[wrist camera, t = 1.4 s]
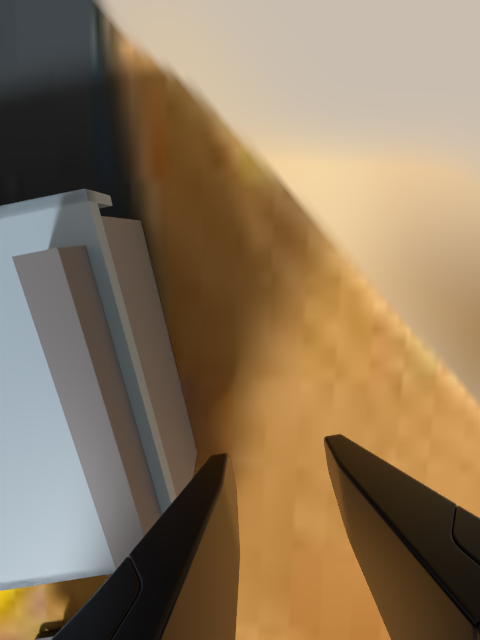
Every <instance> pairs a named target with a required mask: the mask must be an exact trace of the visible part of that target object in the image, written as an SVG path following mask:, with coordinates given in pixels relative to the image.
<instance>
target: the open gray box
mask: <svg viewBox="0 0 480 640" xmlns="http://www.w3.org/2000/svg"><path fill="white" fill-rule="evenodd" d="M101 218H102V222H103V226H104V229H105V233H106V237H107V240H108V244H109V248H110V252H111V255H112V259H113V263H114V266H115V270H116V274H117V278H118V281H119V285H120V289H121V292H122V296H123V300H124V304H125V307H126V311H127V315H128V319H129V322H130V326H131V330H132V333H133V337H134V341H135V345H136V348H137V352H138V356H139V359H140V363H141V367H142V371H143V374H144V378H145V382H146V385H147V389H148V393H149V397H150V400H151V404H152V408H153V411H154V415H155V419H156V423H157V426H158V430H159V434H160V437H161V441H162V445H163V449H164V452H165V456H166V460H167V464H168V467H169V471H170V475H171V478H172V482H173V486H174V490H175V493H176V497H177V496H178V495H179V494H180V493H181V491H182V490H183V489H184V488H185V487H186V486H187V484H188V483H189V482H190V481H191V480H192V478H193V473H194V468H195V463H196V458H197V449H196V445H195V440H194V436H193V432H192V428H191V424H190V420H189V416H188V412H187V408H186V404H185V400H184V396H183V392H182V387H181V383H180V379H179V375H178V371H177V367H176V363H175V359H174V355H173V351H172V347H171V343H170V338H169V334H168V330H167V326H166V322H165V318H164V314H163V310H162V306H161V302H160V298H159V294H158V290H157V285H156V281H155V277H154V273H153V269H152V265H151V261H150V257H149V253H148V249H147V245H146V241H145V236H144V232H143V228H142V224H141V221H140V220H131V219H123V218H114V217H106V216H101Z"/></svg>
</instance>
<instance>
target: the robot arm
mask: <svg viewBox="0 0 480 640" xmlns="http://www.w3.org/2000/svg"><path fill="white" fill-rule="evenodd" d="M324 445H325V452H326V459H327V465H328V471H329V475H330V479H331V482H332V485H333V489H334V492H335V496H336V499H337V502H338V506H339V509H340V512H341V516H342V519H343V523H344V526H345V529H346V532H347V535H348V538H349V541H350V543H351V546H352V548H353V551H354V553H355V556H356V558H357V560H358V563H359V565H360V567H361V570H362V572H363V574H364V577H365V579H366V581H367V584H368V586H369V588H370V591H371V593H372V595H373V598H374V600H375V603H376V605H377V607H378V610H379V612H380V614H381V617H382V619H383V621H384V624H385V626H386V628H387V631H388V633H389V635H390V638H391V640H480V518H479V517H477V516H475V515H474V514H472V513H470V512H469V511H467V510H465V509H464V508H462V507H460V506H457V505H456V504H455V503H454V502H452V501H450V500H449V499H447V498H445V497H444V496H442V495H440V494H439V493H437V492H435V491H434V490H432V489H430V488H429V487H427V486H426V485H424V484H422V483H421V482H419V481H417V480H416V479H414V478H412V477H411V476H409V475H407V474H406V473H404V472H402V471H401V470H399V469H397V468H396V467H394V466H393V465H391V464H389V463H388V462H386V461H384V460H383V459H381V458H379V457H378V456H376V455H374V454H373V453H371V452H369V451H368V450H366V449H364V448H363V447H361V446H360V445H358V444H356V443H355V442H353V441H351V440H350V439H348V438H346V437H345V436H343V435H341V434H337V435H331V436H326V437H325V438H324ZM128 557H129V558H128ZM128 557H126V558H125V559H124V560H123V562H122V563H121V564H120V565H119V566H118V567H117V569H116V570H115V571H114V572H113V573H112V574H111V576H110V577H109V578H108V579H107V580H106V581H105V582H104V584H103V585H102V586H101V587H100V588H99V589H98V590H97V592H96V593H95V594H94V595H93V596H92V597H91V598H90V599H89V600H88V601H87V602H86V603H85V604H84V606H83V607H82V608H81V609H80V610H79V611H78V612H77V613H76V614H75V615H74V616H73V617H72V618H71V619H70V620H69V621H68V622H67V623H66V624H65V625H64V626H63V627H62V628H61V629H60V630H56V631H49V632H42V633H39V634H38V635H37V636H36V638H35V640H235V633H236V616H237V599H238V582H239V564H240V543H239V525H238V507H237V491H236V483H235V478H234V474H233V469H232V465H231V460H230V457H229V455H228V454H227V453H223V454H217V455H212V456H211V457H210V458H209V459H208V461H207V462H206V463H205V464H204V465H203V466H202V468H201V469H200V470H199V471H198V472H197V474H196V475H195V476H194V477H193V478H192V480H191V481H190V482H189V483H188V484H187V486H186V487H185V488H184V489H183V490H182V491H181V493H180V494H179V495H178V496H177V497H176V499H175V500H174V501H173V502H172V503H171V505H170V506H169V507H168V508H167V509H166V511H165V512H164V513H163V514H162V515H161V516H160V518H159V519H158V520H157V521H156V522H155V524H154V525H153V526H152V527H151V528H150V530H149V531H148V532H147V533H146V534H145V536H144V537H143V538H142V539H141V540H140V541H139V543H138V544H137V545H136V546H135V547H134V549H133V550H132V551H131V552H130V553H129V555H128Z"/></svg>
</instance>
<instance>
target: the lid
mask: <svg viewBox="0 0 480 640" xmlns="http://www.w3.org/2000/svg"><path fill="white" fill-rule="evenodd" d="M110 206H113V205H112V201H111V197H110V195H106V194H102V193H99V192H95V191H92V190H88V189H80V190H75V191H71V192H66V193H61V194H56V195H51V196H46V197H41V198H36V199H32V200H27V201H22V202H17V203H12V204H7V205H2V206H0V591H2V590H8V589H15V588H21V587H28V586H34V585H41V584H47V583H54V582H61V581H67V580H74V579H80V578H87V577H93V576H100V575H106V574H112V573H113V572H114V571H115V570H116V569H117V567H118V566H119V565H120V564H121V563H122V562H123V560H124V559H125V558H126V557H128V555H129V553H130V552H131V551H132V550H133V549H134V547H135V546H136V545H137V544H138V543H139V541H140V540H141V539H142V538H143V537H144V536H145V534H146V533H147V532H148V531H149V530H150V528H151V527H152V526H153V525H154V524H155V522H156V521H157V520H158V519H159V518H160V516H161V515H162V514H163V513H164V512H165V511H166V509H167V508H168V507H169V506H170V505H171V503H172V502H173V501H174V500H175V499H176V493H175V490H174V486H173V482H172V478H171V475H170V471H169V467H168V464H167V460H166V456H165V452H164V449H163V445H162V441H161V437H160V434H159V430H158V426H157V423H156V419H155V415H154V411H153V408H152V404H151V400H150V397H149V393H148V389H147V385H146V382H145V378H144V374H143V371H142V367H141V363H140V359H139V356H138V352H137V348H136V345H135V341H134V337H133V333H132V330H131V326H130V322H129V319H128V315H127V311H126V307H125V304H124V300H123V296H122V292H121V289H120V285H119V281H118V278H117V274H116V270H115V266H114V263H113V259H112V255H111V252H110V248H109V244H108V240H107V237H106V233H105V229H104V226H103V222H102V218H101V214H100V211H99V209H100V208H105V207H110ZM128 558H129V557H128Z"/></svg>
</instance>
